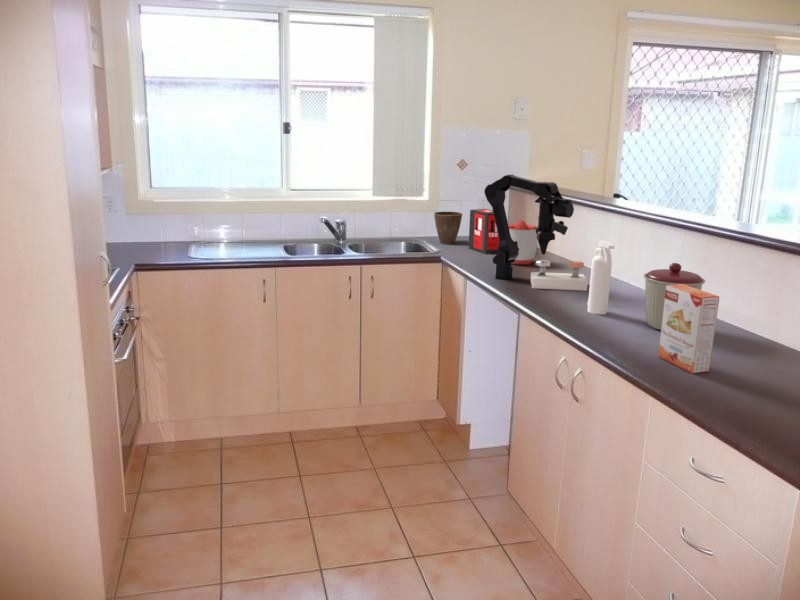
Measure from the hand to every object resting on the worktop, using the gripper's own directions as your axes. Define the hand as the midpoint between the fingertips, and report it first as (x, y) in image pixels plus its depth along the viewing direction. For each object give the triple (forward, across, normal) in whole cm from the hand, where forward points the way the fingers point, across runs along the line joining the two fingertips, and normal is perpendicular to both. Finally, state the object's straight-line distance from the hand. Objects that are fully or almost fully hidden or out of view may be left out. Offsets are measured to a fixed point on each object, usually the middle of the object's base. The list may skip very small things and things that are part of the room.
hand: (543, 254), depth 271 cm
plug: (+8, 0, 0) cm, 8 cm away
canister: (+13, -53, -36) cm, 65 cm away
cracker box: (+13, -89, -31) cm, 95 cm away
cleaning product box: (+13, +73, +23) cm, 78 cm away
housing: (+12, 0, -7) cm, 14 cm away
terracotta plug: (+8, 0, -13) cm, 15 cm away
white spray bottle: (+13, -37, -16) cm, 42 cm away
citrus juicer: (+13, +45, +6) cm, 47 cm away
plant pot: (+13, +92, +43) cm, 102 cm away
